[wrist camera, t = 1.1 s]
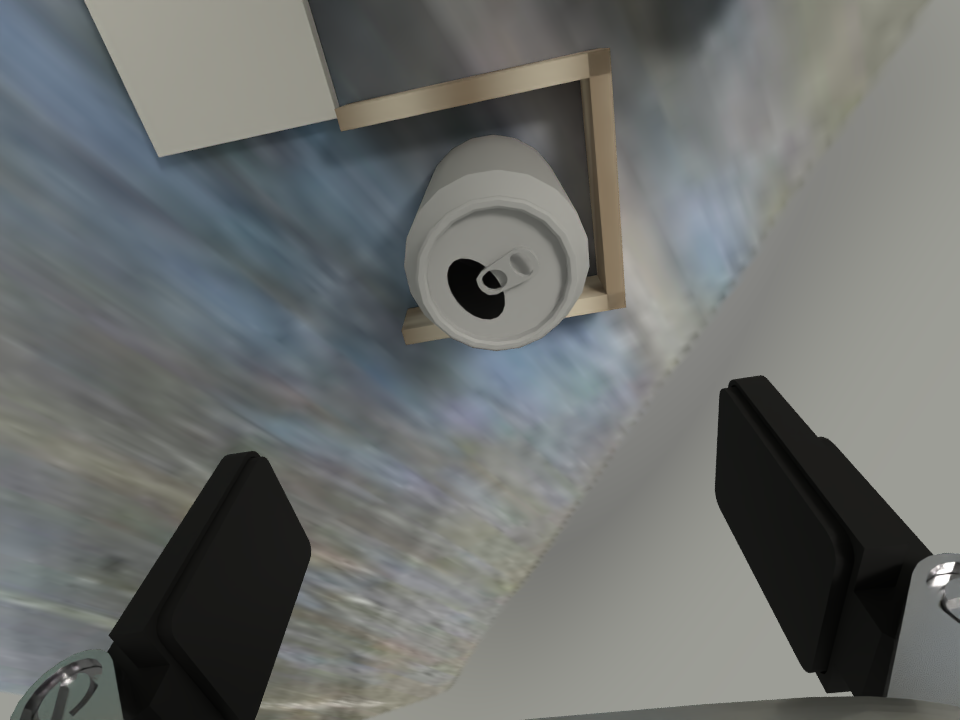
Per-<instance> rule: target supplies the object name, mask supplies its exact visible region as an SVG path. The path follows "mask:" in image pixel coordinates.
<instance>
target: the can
mask: <svg viewBox="0 0 960 720" xmlns="http://www.w3.org/2000/svg"><path fill="white" fill-rule="evenodd" d="M404 268H405V272H406V276H407V280H408V284H409V288H410V292H411V294H412V296H413V298H414V299H415V301H416V302H417V304H418V306H419V307H420V309H421V310H422V312H423V314H424V315H425V316H426V317H427V318H428V319H429V320H430V321H432V322H433V323H434V324H435V325H436V326H438V327H439V328H440V329H441V330H442V331H443V332H445V333H446V334H447V335H448V336H449V337H451V338H452V339H454V340H457V341H459V342H461V343H463V344H466V345H468V346H470V347H472V348H479V349H486V350H493V351H500V350H507V349H514V348H520V347H523V346H525V345H527V344H530V343H532V342H534V341H536V340H539V339H541V338H543V337H544V336H545V335H546V334H547V333H549V332H550V331H551V330H552V329H553V328H555V327H556V326H557V325H558V324H559V323H560V322H561V321H562V320H563V319H564V318H565V317H566V316H567V315H568V314H569V312H570V311H571V309H572V307H573V306H574V304H575V303H576V301H577V300H578V298H579V297H580V295H581V294H582V291H583V288H584V284H585V280H586V277H587V273H588V269H589V252H588V238H587V235H586V233H585V231H584V228H583V226H582V223H581V221H580V219H579V216H578V214H577V211H576V210H575V208H574V206H573V205H572V203H571V201H570V199H569V198H568V196H567V194H566V192H565V191H564V189H563V187H562V186H561V184H560V182H559V180H558V179H557V177H556V175H555V173H554V172H553V170H552V168H551V167H550V165H549V164H548V163H547V162H546V161H545V159H544V158H543V157H542V156H541V155H540V154H539V153H538V152H537V151H536V149H534V148H532V147H531V146H529V145H527V144H525V143H523V142H522V141H520V140H518V139H516V138H511V137H505V136H499V135H488V136H483V137H477V138H471V139H470V140H468V141H466V142H464V143H462V144H461V145H459V146H457V147H455V148H453V149H452V150H451V151H450V152H449V153H448V154H447V155H446V156H445V157H444V159H443V160H442V161H441V162H440V163H439V164H438V165H437V167H436V169H435V171H434V174H433V176H432V178H431V180H430V183H429V185H428V187H427V190H426V192H425V195H424V197H423V199H422V202H421V204H420V207H419V209H418V212H417V214H416V217H415V219H414V221H413V224H412V226H411V229H410V231H409V234H408V236H407V238H406V250H405V262H404Z"/></svg>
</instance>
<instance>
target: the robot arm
mask: <svg viewBox="0 0 960 720" xmlns="http://www.w3.org/2000/svg"><path fill="white" fill-rule="evenodd" d="M715 494H716V499H717V502H718V505H719V508H720V510H721V512H722V514H723V515H724V518H725V519H726V521H727V523H728V525H729V527H730V529H731V531H732V533H733V535H734V536H735V539H736V541H737V543H738V545H739V546H740V549H741V550H742V552H743V554H744V556H745V558H746V560H747V562H748V564H749V566H750V568H751V570H752V572H753V574H754V576H755V577H756V579H757V581H758V583H759V585H760V587H761V589H762V591H763V593H764V595H765V597H766V599H767V601H768V603H769V605H770V607H771V608H772V610H773V612H774V614H775V616H776V618H777V620H778V622H779V624H780V626H781V628H782V630H783V632H784V634H785V635H786V637H787V639H788V641H789V643H790V645H791V647H792V649H793V651H794V653H795V655H796V657H797V658H798V660H799V662H800V664H801V666H802V667H803V669H804V670H805V671H806V672H808V673H813V672H816V674H817V676H818V678H819V680H820V682H821V684H822V685H823V687H824V689H825V691H826V693H836V692H848V691H851V692H852V694H853V696H852V697H806V698H791V699H777V700H761V701H747V702H732V703H718V704H702V705H690V706H680V707H667V708H657V709H656V708H655V709H644V710H632V711H620V712H608V713H596V714H585V715H574V716H561V717H549V718H538V719H528V720H960V554H952V553H942V554H937V555H933V554H932V553H931V552H930V551H929V550H928V549H927V548H926V546H925V545H924V544H923V543H922V542H921V541H920V540H919V539H918V537H917V536H916V535H915V534H914V533H913V532H912V531H911V530H910V528H909V527H908V526H907V525H906V524H905V523H904V522H903V521H902V519H900V517H899V516H898V515H897V514H896V513H895V512H894V510H893V509H892V508H891V507H890V506H889V505H888V504H887V503H886V501H885V500H884V499H883V498H882V497H881V496H880V495H879V494H878V493H877V491H876V490H875V489H874V488H873V487H872V486H871V485H870V484H869V482H868V481H867V480H866V479H865V478H864V477H863V476H862V475H861V474H860V472H859V471H858V470H857V469H856V468H855V467H854V466H853V465H852V464H851V462H850V461H849V460H848V459H847V458H846V457H845V456H844V454H843V453H842V452H841V451H840V450H839V449H838V448H837V447H836V446H835V445H834V444H833V443H832V442H831V441H830V440H829V439H826V438H824V437H817V436H816V435H815V433H814V432H813V431H812V430H811V429H810V428H809V427H808V425H807V424H806V423H805V422H804V421H803V420H802V419H801V418H800V416H799V415H798V414H797V413H796V412H795V410H794V409H793V408H792V407H791V406H790V405H789V404H788V402H787V401H786V400H785V399H784V398H783V397H782V395H781V394H780V393H779V392H778V391H777V390H776V388H775V387H774V386H773V385H772V384H771V383H770V382H769V380H768V379H767V378H766V377H764V376H761V375H760V376H754V377H747V378H741V379H734V380H731V381H730V382H729V385H728V388H724V389H721V391H720V396H719V416H718V437H717V456H716V477H715ZM310 557H311V546H310V542H309V540H308V538H307V536H306V534H305V532H304V530H303V528H302V526H301V524H300V522H299V520H298V518H297V516H296V514H295V512H294V510H293V508H292V506H291V504H290V502H289V500H288V498H287V496H286V494H285V492H284V490H283V488H282V487H281V485H280V483H279V481H278V479H277V477H276V475H275V473H274V471H273V469H272V467H271V465H270V463H269V461H268V460H267V458H265V457H260V455H259V454H258V453H257V452H255V451H249V452H243V453H236V454H229V455H226V456H225V457H224V458H223V459H222V460H221V462H220V463H219V465H218V466H217V468H216V469H215V471H214V472H213V474H212V476H211V477H210V479H209V480H208V482H207V483H206V485H205V486H204V488H203V490H202V491H201V493H200V494H199V496H198V497H197V499H196V500H195V502H194V504H193V505H192V507H191V508H190V510H189V511H188V513H187V514H186V516H185V518H184V519H183V521H182V522H181V524H180V525H179V527H178V528H177V530H176V532H175V533H174V535H173V536H172V538H171V539H170V541H169V542H168V544H167V546H166V547H165V549H164V550H163V552H162V553H161V555H160V556H159V558H158V560H157V561H156V563H155V564H154V566H153V567H152V569H151V570H150V572H149V574H148V575H147V577H146V578H145V580H144V581H143V583H142V584H141V586H140V588H139V589H138V591H137V592H136V594H135V595H134V597H133V598H132V600H131V602H130V603H129V605H128V606H127V608H126V609H125V611H124V613H123V614H122V616H121V617H120V619H119V620H118V622H117V623H116V625H115V627H114V628H113V630H112V631H111V633H110V634H109V636H110V638H111V639H112V640H113V641H114V642H113V644H112V645H111V647H110V649H109V650H108V652H105V651H103V650H101V649H93V650H86V651H83V652H80V653H77V654H74V655H72V656H70V657H69V658H67V659H65V660H63V661H61V662H59V663H58V664H57V665H55V666H54V667H53V668H51V669H50V670H49V671H47V672H46V673H44V674H43V675H42V676H41V677H40V678H39V679H38V680H37V681H36V682H35V683H34V684H33V685H32V686H31V687H30V688H29V689H28V691H27V692H26V693H25V695H24V696H23V697H22V699H21V700H20V701H19V702H18V704H17V706H16V708H15V710H14V712H13V714H12V716H11V718H10V720H255V718H256V715H257V713H258V710H259V707H260V704H261V701H262V698H263V695H264V692H265V689H266V686H267V684H268V681H269V678H270V675H271V672H272V669H273V666H274V663H275V660H276V657H277V654H278V651H279V649H280V646H281V643H282V640H283V637H284V634H285V631H286V628H287V625H288V622H289V619H290V616H291V613H292V611H293V608H294V605H295V602H296V599H297V596H298V593H299V590H300V587H301V584H302V581H303V578H304V575H305V573H306V570H307V567H308V564H309V561H310Z"/></svg>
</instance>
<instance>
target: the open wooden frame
mask: <svg viewBox="0 0 960 720" xmlns="http://www.w3.org/2000/svg"><path fill="white" fill-rule="evenodd" d="M576 80H580V87H581V98H582V110H583V121H584V132H585V144H586V155H587V166H588V177H589V189H590V200H591V211H592V223H593V234H594V245H595V257H596V268H597V275H594V276H589V277H586V280H585V284H584V288H583V291H582V294H581V295H580V297H579V298H578V300H577V301H576V303H575V304H574V306H573V307H572V309H571V311H570V312H569V314H568V315H567V316H566V317H572V316H578V315H584V314H590V313H596V312H602V311H607V310H613V309H619V308H625V307H626V301H625V285H624V269H623V253H622V236H621V220H620V204H619V188H618V171H617V155H616V139H615V123H614V106H613V90H612V74H611V57H610V48H597V49H592V50H588V51H583V52H579V53H574V54H570V55H565V56H561V57H556V58H552V59H547V60H543V61H538V62H534V63H529V64H525V65H520V66H516V67H511V68H507V69H502V70H498V71H493V72H489V73H484V74H480V75H475V76H471V77H466V78H462V79H457V80H453V81H448V82H444V83H439V84H435V85H430V86H426V87H421V88H417V89H412V90H408V91H403V92H399V93H394V94H390V95H385V96H381V97H376V98H372V99H367V100H363V101H358V102H354V103H349V104H346V105H344V106H341V107H339V108H336V109H334V110H335V113H336V116H337V119H338V123H339V126H340V129H341V131H346V130H351V129H355V128H360V127H364V126H369V125H374V124H378V123H383V122H387V121H392V120H397V119H401V118H406V117H410V116H415V115H420V114H424V113H429V112H433V111H438V110H443V109H447V108H452V107H457V106H461V105H466V104H470V103H475V102H480V101H484V100H489V99H493V98H498V97H503V96H507V95H512V94H516V93H521V92H526V91H530V90H535V89H539V88H544V87H549V86H553V85H558V84H563V83H567V82H572V81H576ZM566 317H565V318H566ZM402 333H403V337H404V340H405V343H406V345H409V344H415V343H420V342H426V341H432V340H438V339H444V338H450V337H449V336H448V335H447V334H446V333H445V332H443V331H442V330H441V329H440V328H439V327H438V326H436V325H435V324H434V323H433V322H432V321H430V320H429V319H428V318H427V317H426V316H425V315H424V314H423V312H422V310H421V309H420V307H415V308H409V309H408V310H407V314H406V317H405V320H404V324H403V327H402Z"/></svg>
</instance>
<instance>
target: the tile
mask: <svg viewBox="0 0 960 720" xmlns="http://www.w3.org/2000/svg"><path fill="white" fill-rule="evenodd" d="M84 1H85V3H86V5H87V8H88V10H89V12H90V14H91V16H92V18H93V20H94V22H95V24H96V26H97V29H98V31H99V33H100V35H101V37H102V39H103V41H104V43H105V45H106V47H107V50H108V52H109V54H110V56H111V58H112V60H113V62H114V64H115V66H116V68H117V71H118V73H119V75H120V77H121V79H122V81H123V83H124V85H125V87H126V89H127V92H128V94H129V96H130V98H131V100H132V102H133V104H134V106H135V108H136V110H137V113H138V115H139V117H140V119H141V121H142V123H143V125H144V127H145V129H146V132H147V134H148V136H149V138H150V140H151V142H152V144H153V146H154V148H155V150H156V153H157V155H158V157H163V156H168V155H172V154H177V153H181V152H186V151H190V150H195V149H199V148H204V147H209V146H213V145H218V144H222V143H227V142H231V141H236V140H240V139H245V138H250V137H254V136H259V135H263V134H268V133H272V132H277V131H281V130H286V129H290V128H295V127H300V126H304V125H309V124H313V123H318V122H322V121H327V120H331V119H336V118H337V116H336V113H335V110H334V109H336V108H339V107H340V106H339V103H338V100H337V96H336V93H335V90H334V86H333V83H332V80H331V76H330V73H329V70H328V66H327V63H326V60H325V56H324V53H323V50H322V46H321V43H320V39H319V36H318V33H317V29H316V26H315V23H314V19H313V16H312V13H311V9H310V6H309V3H308V0H84Z"/></svg>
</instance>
